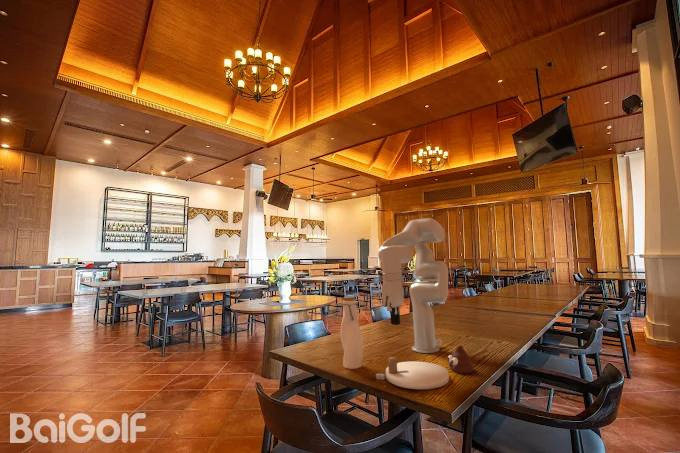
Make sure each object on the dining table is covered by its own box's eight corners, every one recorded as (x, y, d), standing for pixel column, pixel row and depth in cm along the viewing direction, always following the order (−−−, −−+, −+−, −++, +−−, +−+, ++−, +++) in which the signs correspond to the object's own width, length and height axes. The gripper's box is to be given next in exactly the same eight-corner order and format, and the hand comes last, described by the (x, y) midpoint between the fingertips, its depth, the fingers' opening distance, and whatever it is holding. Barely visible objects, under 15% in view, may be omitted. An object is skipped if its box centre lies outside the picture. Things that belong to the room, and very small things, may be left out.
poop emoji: (478, 373, 117) (476, 347, 118) (457, 375, 116) (455, 349, 117) (464, 365, 127) (462, 341, 128) (444, 367, 125) (442, 342, 126)
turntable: (435, 365, 125) (434, 346, 126) (459, 386, 104) (458, 364, 104) (380, 368, 124) (379, 350, 125) (393, 391, 102) (392, 368, 103)
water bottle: (368, 368, 127) (364, 297, 130) (347, 371, 124) (343, 299, 127) (358, 361, 137) (355, 295, 140) (339, 364, 134) (336, 296, 137)
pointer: (384, 378, 116) (384, 373, 116) (384, 379, 115) (384, 375, 115) (376, 378, 116) (376, 373, 117) (376, 379, 115) (376, 375, 115)
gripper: (392, 275, 134) (395, 319, 132) (374, 279, 122) (377, 327, 120) (408, 275, 129) (412, 321, 128) (392, 279, 117) (395, 329, 116)
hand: (395, 324), depth 124 cm, fingers closed
